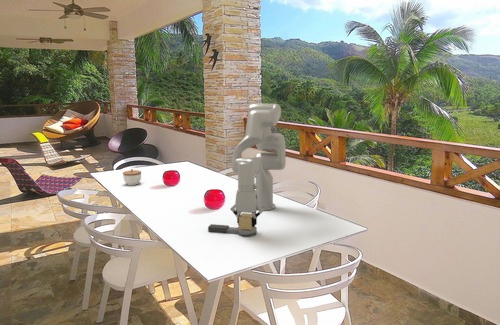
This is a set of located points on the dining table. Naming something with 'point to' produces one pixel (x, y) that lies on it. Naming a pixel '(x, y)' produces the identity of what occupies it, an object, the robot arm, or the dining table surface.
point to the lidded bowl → (132, 177)
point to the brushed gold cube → (245, 221)
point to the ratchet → (232, 230)
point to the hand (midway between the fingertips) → (246, 225)
